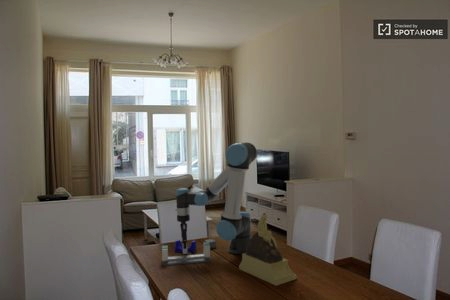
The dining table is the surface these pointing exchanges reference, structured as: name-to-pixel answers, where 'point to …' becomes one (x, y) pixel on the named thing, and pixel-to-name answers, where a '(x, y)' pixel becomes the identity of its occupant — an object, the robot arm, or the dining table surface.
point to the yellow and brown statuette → (265, 257)
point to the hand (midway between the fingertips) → (184, 251)
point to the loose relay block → (211, 243)
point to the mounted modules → (205, 249)
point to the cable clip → (192, 248)
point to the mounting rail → (186, 259)
